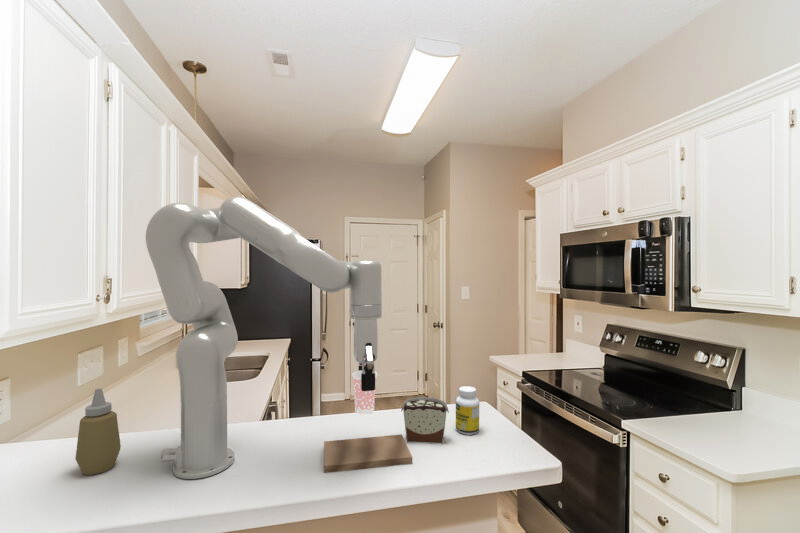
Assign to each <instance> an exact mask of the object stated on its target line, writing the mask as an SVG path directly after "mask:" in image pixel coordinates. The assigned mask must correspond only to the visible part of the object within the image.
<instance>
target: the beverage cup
mask: <svg viewBox="0 0 800 533" xmlns="http://www.w3.org/2000/svg"><path fill="white" fill-rule="evenodd" d="M364 360H366V358H364ZM365 365H366V363H365ZM361 373H362V370H360V371H359V370H356V371H353V372H352V373H351V376H352V377H351V378H352V380H353V382H352V383H353V397H354V398H353V399H354V412H355V413H356V414H359V415H369V414H373V413H374V412H375V402H376V400H375V399H376V389H375V390H374V391H362V390H361ZM377 378H378V372H377V371H376V370H375V387H376V386H377V385H376V383H377V382H376V381H377Z"/></svg>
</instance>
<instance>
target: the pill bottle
mask: <svg viewBox="0 0 800 533" xmlns="http://www.w3.org/2000/svg"><path fill="white" fill-rule="evenodd" d="M458 389H459V390H458V391H459V392H458V393H459V396H457V397H456V398H455V429H456V431H457V432H458V433H459V434H463V435H465V436H466V435H468V436H469V435H470V436H472V435H475V434H478V432H479V431H480V400H479V398H478V397H476V395H477V389H476V388H475V387H474V386H468V385H467V386H466V385H465V386H464V385H463V386H460V387H459V388H458Z"/></svg>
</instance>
